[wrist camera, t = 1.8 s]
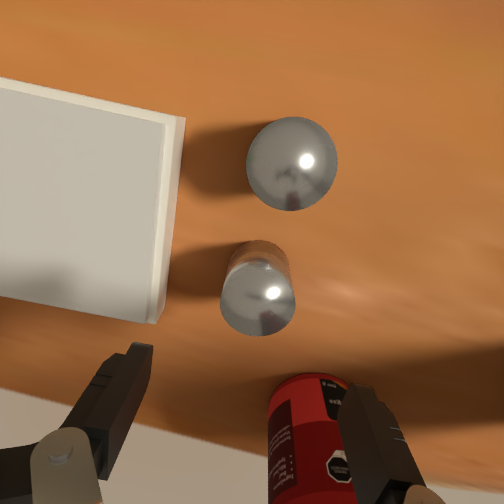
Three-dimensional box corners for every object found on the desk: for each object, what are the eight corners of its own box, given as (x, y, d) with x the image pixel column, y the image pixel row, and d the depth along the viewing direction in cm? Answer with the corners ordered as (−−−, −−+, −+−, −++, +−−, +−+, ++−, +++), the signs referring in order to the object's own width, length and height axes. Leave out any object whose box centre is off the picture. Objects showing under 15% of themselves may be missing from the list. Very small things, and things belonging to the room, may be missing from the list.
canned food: (368, 418, 28) (428, 588, 18) (287, 441, 29) (299, 609, 19) (340, 357, 25) (391, 514, 15) (253, 386, 27) (246, 545, 17)
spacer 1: (329, 128, 19) (350, 128, 14) (309, 197, 20) (322, 218, 16) (258, 112, 18) (256, 107, 14) (244, 183, 20) (238, 200, 15)
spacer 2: (295, 246, 22) (304, 280, 17) (280, 298, 23) (285, 341, 19) (234, 234, 21) (226, 265, 17) (224, 288, 23) (214, 329, 18)
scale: (186, 117, 19) (172, 115, 16) (164, 307, 24) (151, 331, 21) (-56, 63, 18) (-114, 52, 15) (-23, 270, 23) (-61, 290, 21)
